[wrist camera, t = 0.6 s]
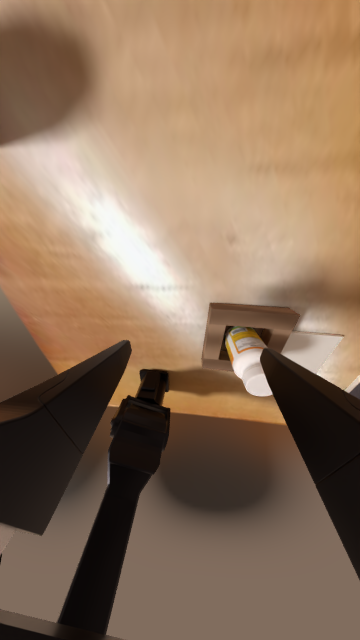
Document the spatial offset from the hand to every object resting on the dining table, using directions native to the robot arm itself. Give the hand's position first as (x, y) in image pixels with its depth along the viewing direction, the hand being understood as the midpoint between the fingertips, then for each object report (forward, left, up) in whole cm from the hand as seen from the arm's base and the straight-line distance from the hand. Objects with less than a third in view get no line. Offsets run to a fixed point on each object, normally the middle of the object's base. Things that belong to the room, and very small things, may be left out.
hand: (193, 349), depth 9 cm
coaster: (-10, -20, -13) cm, 26 cm away
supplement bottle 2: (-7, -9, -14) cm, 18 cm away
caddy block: (-7, -9, -13) cm, 17 cm away
